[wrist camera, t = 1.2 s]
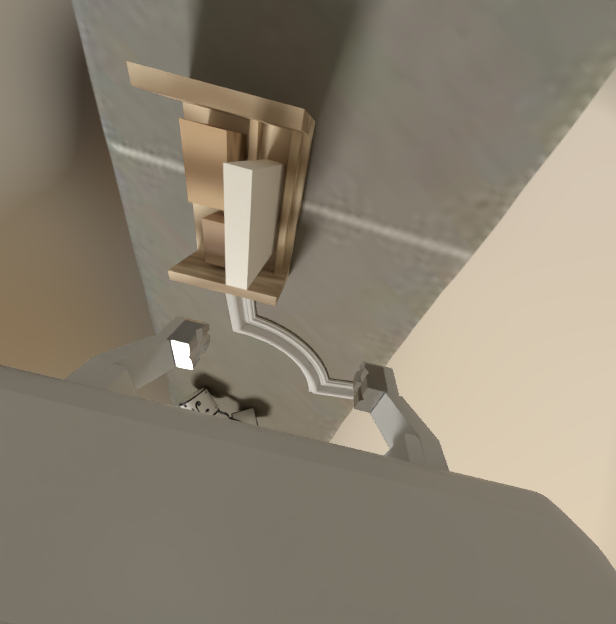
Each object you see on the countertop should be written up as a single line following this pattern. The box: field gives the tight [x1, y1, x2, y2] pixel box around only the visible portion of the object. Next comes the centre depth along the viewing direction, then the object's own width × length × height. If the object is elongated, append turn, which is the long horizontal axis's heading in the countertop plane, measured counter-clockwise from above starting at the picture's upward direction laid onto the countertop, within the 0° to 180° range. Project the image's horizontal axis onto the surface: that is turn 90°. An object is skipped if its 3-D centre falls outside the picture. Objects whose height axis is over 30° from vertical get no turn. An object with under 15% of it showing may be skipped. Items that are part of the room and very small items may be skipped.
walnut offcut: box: [202, 211, 225, 267], centre depth 33 cm, size 6×4×5 cm, turn 168°
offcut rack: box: [127, 61, 315, 305], centre depth 30 cm, size 22×16×10 cm
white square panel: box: [223, 159, 285, 290], centre depth 27 cm, size 12×2×13 cm, turn 168°
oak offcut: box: [179, 118, 247, 211], centre depth 27 cm, size 8×5×6 cm, turn 168°
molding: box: [226, 293, 354, 399], centre depth 51 cm, size 42×12×3 cm, turn 42°
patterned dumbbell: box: [179, 387, 258, 426], centre depth 65 cm, size 25×10×10 cm, turn 54°
